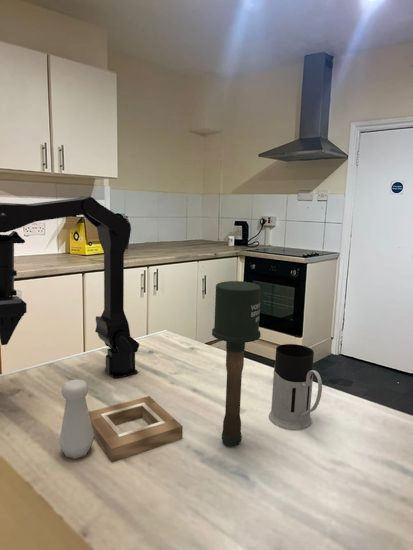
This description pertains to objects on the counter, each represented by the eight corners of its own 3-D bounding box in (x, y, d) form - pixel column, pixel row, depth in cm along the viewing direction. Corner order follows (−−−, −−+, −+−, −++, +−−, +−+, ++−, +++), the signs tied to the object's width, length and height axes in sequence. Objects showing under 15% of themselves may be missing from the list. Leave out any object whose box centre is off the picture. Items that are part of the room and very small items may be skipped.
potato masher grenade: (252, 459, 74) (261, 292, 68) (203, 452, 75) (208, 288, 70) (256, 433, 82) (264, 282, 76) (212, 427, 84) (217, 278, 78)
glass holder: (297, 406, 93) (302, 341, 90) (335, 441, 80) (343, 367, 77) (261, 411, 91) (265, 344, 88) (294, 449, 77) (300, 371, 75)
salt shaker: (98, 443, 77) (97, 376, 75) (87, 463, 72) (85, 391, 69) (68, 441, 78) (65, 374, 75) (53, 460, 72) (51, 388, 70)
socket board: (149, 406, 91) (149, 395, 91) (182, 438, 80) (182, 425, 79) (84, 424, 83) (84, 411, 83) (111, 462, 72) (111, 447, 71)
